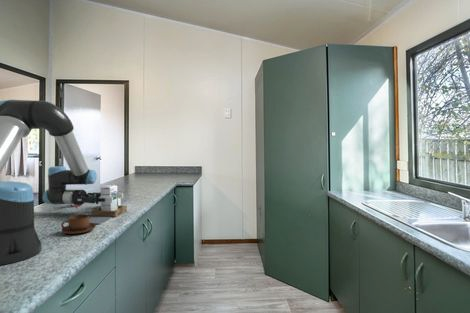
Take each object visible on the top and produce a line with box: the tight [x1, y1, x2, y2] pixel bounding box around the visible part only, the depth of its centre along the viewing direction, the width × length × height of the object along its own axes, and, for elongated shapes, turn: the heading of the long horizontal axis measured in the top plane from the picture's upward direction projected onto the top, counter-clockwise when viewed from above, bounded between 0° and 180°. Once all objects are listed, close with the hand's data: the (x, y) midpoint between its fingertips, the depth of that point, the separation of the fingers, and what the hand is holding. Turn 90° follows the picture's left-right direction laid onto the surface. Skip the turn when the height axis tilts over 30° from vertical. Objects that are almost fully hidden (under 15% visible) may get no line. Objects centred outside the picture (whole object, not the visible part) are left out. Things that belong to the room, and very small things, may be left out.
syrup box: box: [100, 184, 119, 211], centre depth 135 cm, size 6×6×14 cm
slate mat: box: [89, 216, 112, 226], centre depth 122 cm, size 10×10×1 cm
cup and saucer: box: [60, 214, 97, 235], centre depth 108 cm, size 12×12×6 cm
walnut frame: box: [90, 205, 128, 218], centre depth 135 cm, size 12×12×3 cm
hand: (117, 197), depth 134 cm, fingers open, 10 cm apart
